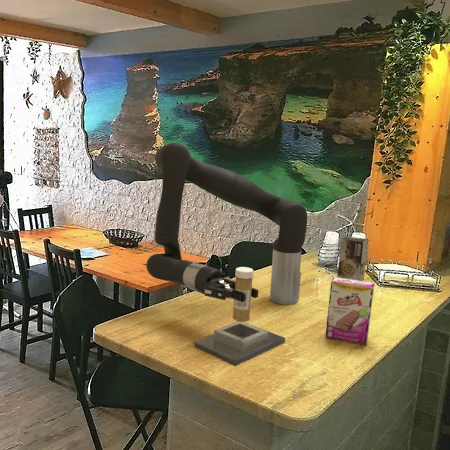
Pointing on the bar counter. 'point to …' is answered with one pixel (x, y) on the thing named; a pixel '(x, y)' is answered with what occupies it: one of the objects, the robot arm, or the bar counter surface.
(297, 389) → the bar counter surface
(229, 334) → the collar socket
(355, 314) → the candy bar box
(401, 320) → the bar counter surface
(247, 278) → the sprinkles bottle
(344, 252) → the cookie box
